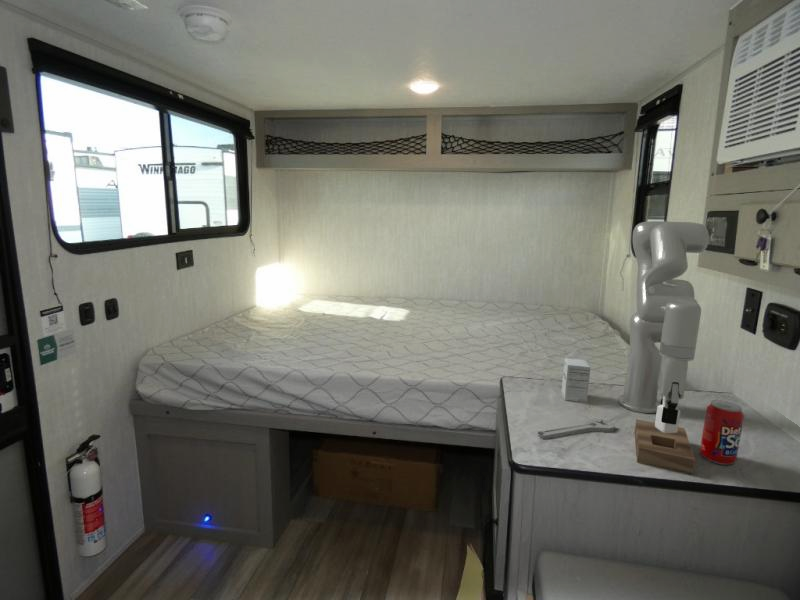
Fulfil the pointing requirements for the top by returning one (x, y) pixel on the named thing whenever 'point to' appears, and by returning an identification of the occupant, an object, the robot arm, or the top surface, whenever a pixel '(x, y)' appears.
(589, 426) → the adjustable wrench
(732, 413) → the soda can
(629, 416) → the top surface
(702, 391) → the top surface
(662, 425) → the pepper shaker
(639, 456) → the socket block
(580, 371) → the supplement box
